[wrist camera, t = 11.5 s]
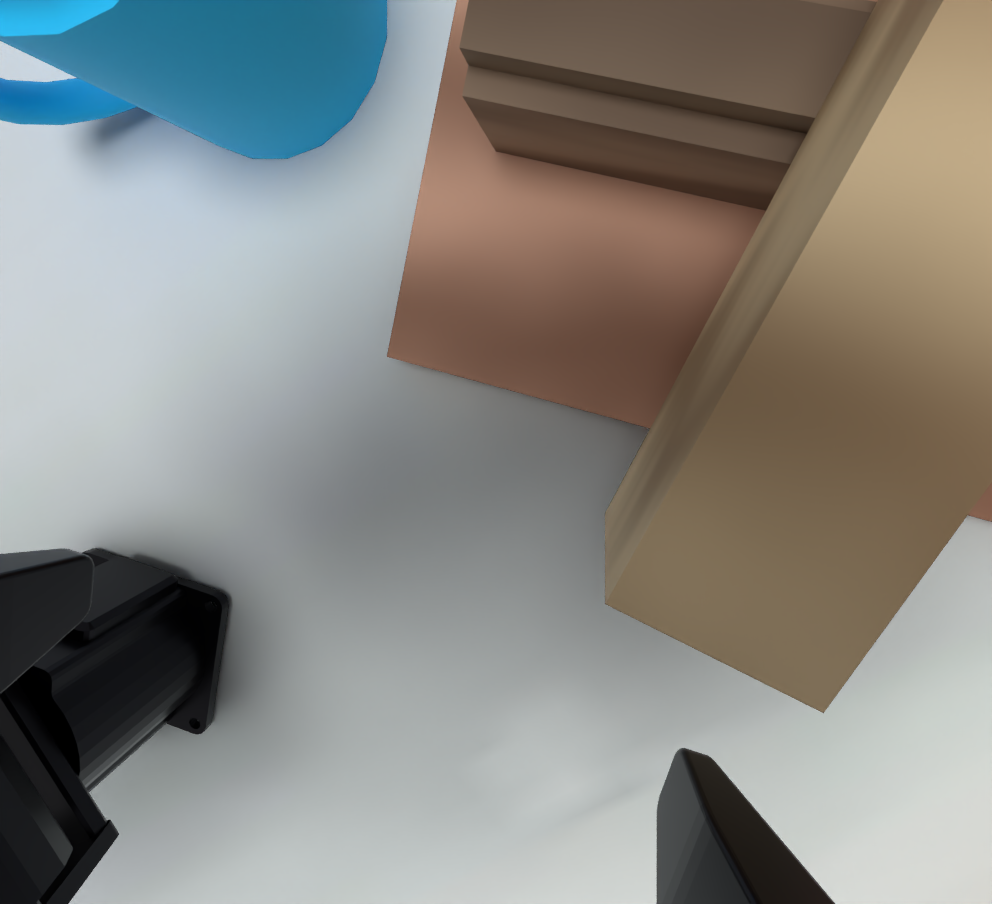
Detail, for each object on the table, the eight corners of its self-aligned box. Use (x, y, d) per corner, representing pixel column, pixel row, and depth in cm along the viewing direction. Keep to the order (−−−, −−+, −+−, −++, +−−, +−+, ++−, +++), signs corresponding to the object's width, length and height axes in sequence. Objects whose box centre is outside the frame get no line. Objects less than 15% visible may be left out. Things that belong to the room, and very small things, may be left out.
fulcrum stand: (1106, 547, 17) (1374, 662, 11) (399, 355, 19) (312, 364, 14) (1465, -101, 13) (2181, -460, 7) (517, -227, 15) (465, -560, 10)
